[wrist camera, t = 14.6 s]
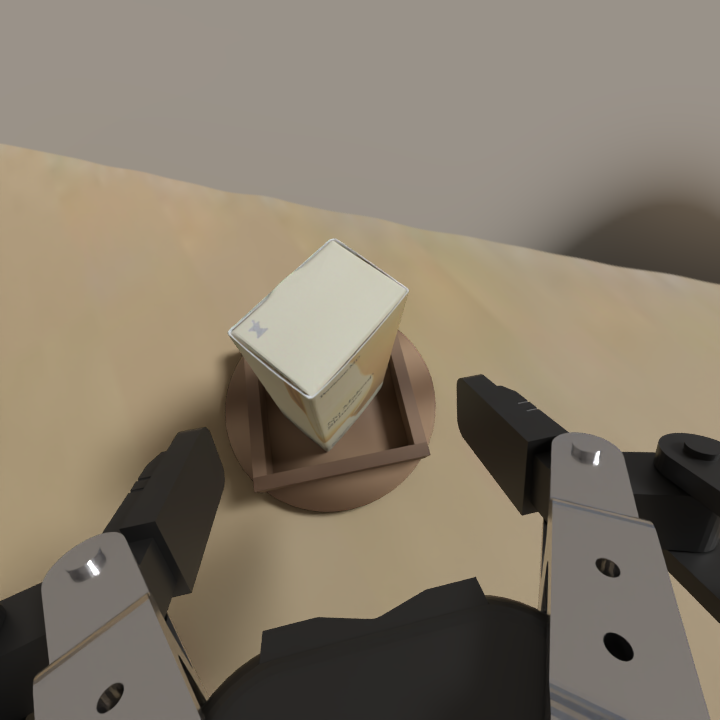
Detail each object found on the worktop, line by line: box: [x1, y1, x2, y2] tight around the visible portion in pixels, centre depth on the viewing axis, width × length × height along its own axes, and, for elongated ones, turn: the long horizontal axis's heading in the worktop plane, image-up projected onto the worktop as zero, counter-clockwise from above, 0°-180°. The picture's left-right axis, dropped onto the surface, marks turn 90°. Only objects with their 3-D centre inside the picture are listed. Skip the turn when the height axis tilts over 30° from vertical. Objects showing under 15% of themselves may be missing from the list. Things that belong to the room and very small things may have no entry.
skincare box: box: [228, 239, 409, 452], centre depth 18 cm, size 6×4×12 cm
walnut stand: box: [225, 330, 436, 512], centre depth 23 cm, size 15×15×3 cm
